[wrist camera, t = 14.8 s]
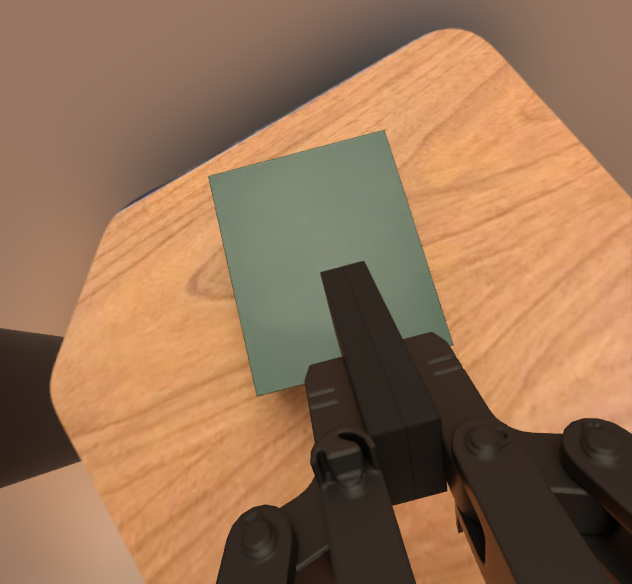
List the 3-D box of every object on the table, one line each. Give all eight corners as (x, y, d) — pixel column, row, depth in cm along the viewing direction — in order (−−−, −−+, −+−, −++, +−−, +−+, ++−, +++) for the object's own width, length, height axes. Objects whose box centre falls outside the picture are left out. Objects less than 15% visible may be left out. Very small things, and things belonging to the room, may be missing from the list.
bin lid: (211, 180, 33) (207, 175, 32) (383, 135, 33) (384, 129, 32) (259, 395, 30) (256, 396, 29) (450, 346, 30) (453, 345, 29)
